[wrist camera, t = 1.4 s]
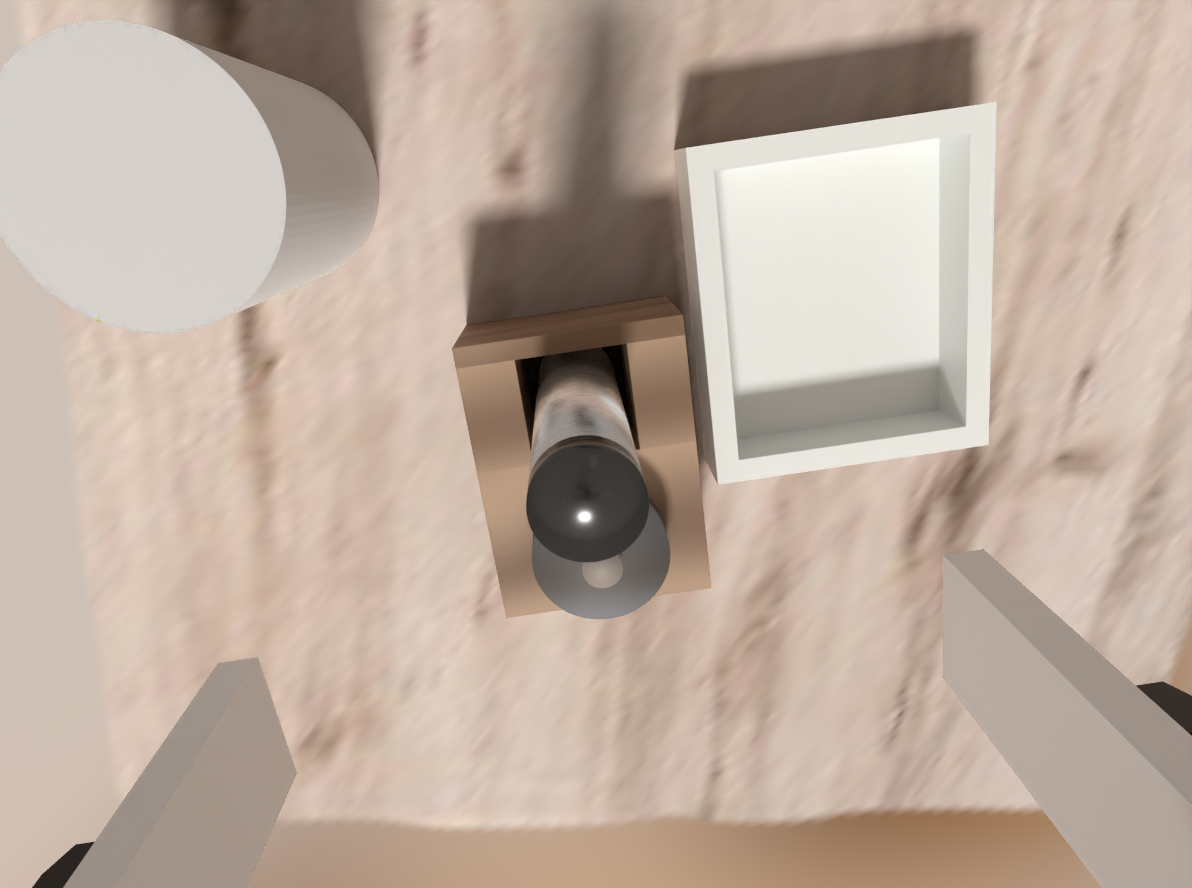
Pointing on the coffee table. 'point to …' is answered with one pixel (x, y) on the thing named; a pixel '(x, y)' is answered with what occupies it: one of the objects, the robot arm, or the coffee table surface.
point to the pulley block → (660, 434)
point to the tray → (841, 291)
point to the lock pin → (583, 461)
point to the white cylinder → (172, 177)
